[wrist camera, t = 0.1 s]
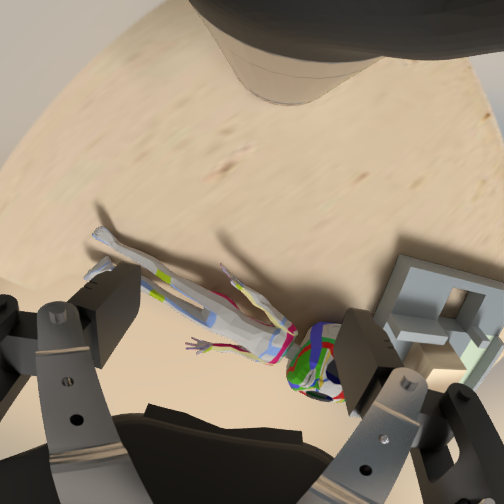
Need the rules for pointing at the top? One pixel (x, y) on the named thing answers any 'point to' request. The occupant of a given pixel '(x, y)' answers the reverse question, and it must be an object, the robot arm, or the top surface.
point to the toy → (242, 325)
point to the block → (435, 364)
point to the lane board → (443, 328)
